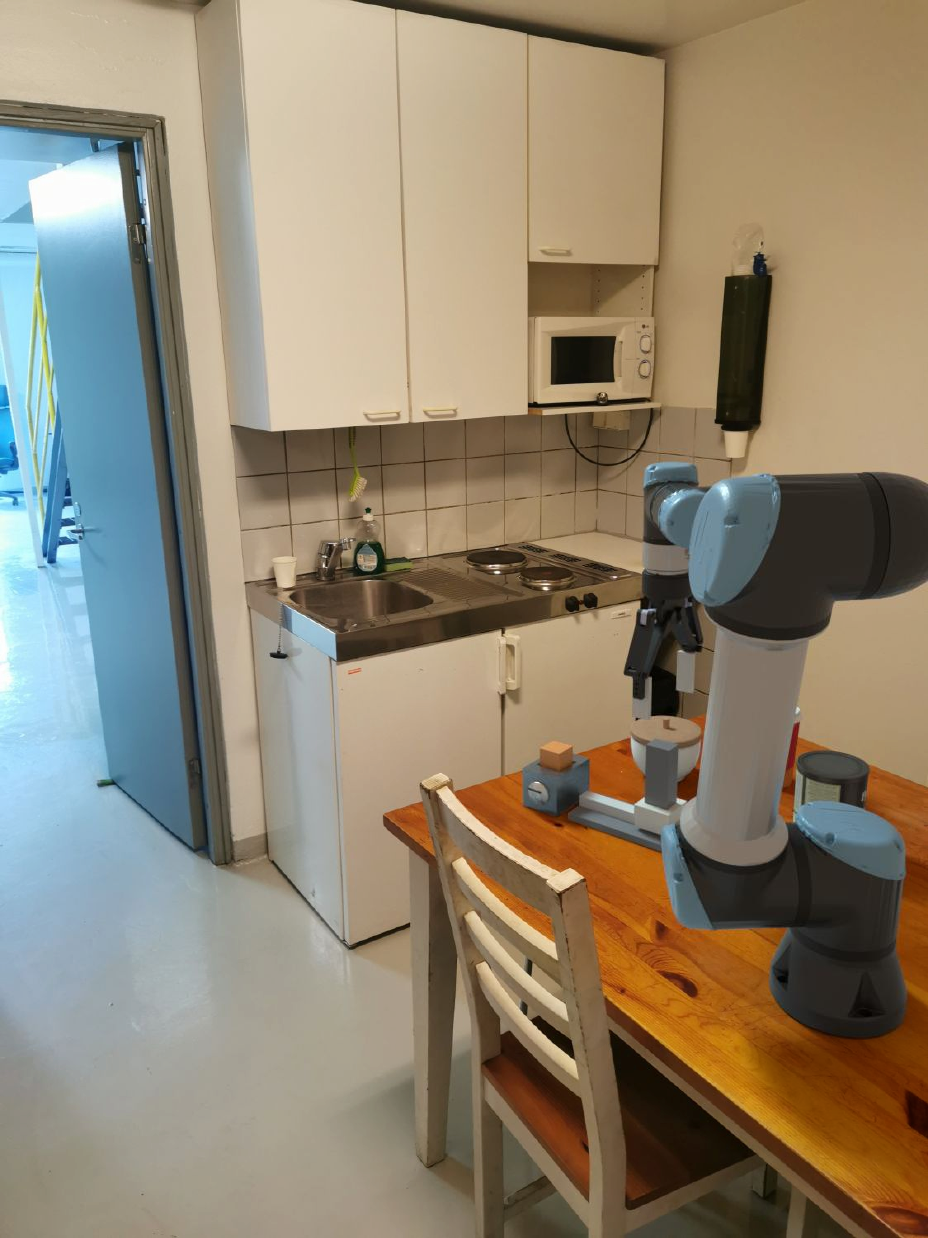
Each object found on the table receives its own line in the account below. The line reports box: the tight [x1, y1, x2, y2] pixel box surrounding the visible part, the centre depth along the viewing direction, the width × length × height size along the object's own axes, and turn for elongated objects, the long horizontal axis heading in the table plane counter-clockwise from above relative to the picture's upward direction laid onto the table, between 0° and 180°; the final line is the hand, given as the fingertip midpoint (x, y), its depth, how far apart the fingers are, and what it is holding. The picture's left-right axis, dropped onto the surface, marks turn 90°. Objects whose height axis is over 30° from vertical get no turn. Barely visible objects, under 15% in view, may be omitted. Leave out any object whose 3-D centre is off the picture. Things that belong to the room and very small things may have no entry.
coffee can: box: [792, 749, 871, 822], centre depth 140 cm, size 10×10×14 cm
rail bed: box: [567, 790, 680, 853], centre depth 150 cm, size 9×19×3 cm, turn 50°
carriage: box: [633, 738, 688, 835], centre depth 144 cm, size 6×6×14 cm
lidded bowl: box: [629, 715, 703, 783], centre depth 166 cm, size 13×13×11 cm
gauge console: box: [522, 753, 591, 818], centre depth 158 cm, size 11×7×7 cm, turn 140°
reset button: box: [539, 740, 574, 772], centre depth 157 cm, size 4×4×4 cm
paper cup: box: [782, 706, 803, 789], centre depth 162 cm, size 8×8×14 cm
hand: (663, 704), depth 141 cm, fingers open, 13 cm apart
